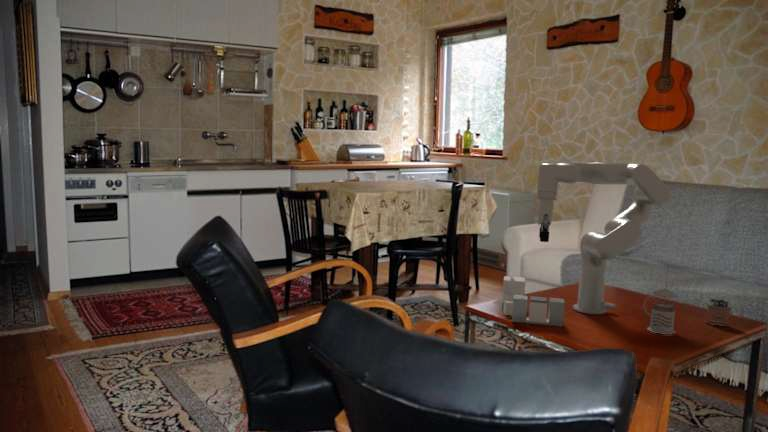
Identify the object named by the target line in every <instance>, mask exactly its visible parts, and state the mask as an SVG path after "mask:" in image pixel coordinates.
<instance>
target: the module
mask: <svg viewBox="0 0 768 432" xmlns="http://www.w3.org/2000/svg"><path fill="white" fill-rule="evenodd" d="M528 308H529V309H528V318H529V321H532V322H542V323H546V319H547V313H548V312H547V311H548V310H547V309H548V298H547V297H544V296H543V297H542V296H534V295H533V296H531V295H530V296H529V307H528Z"/></svg>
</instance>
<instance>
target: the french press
mask: <svg viewBox="0 0 768 432" xmlns="http://www.w3.org/2000/svg"><path fill="white" fill-rule="evenodd" d="M671 266H672V265H671V263H669V262H667V263H665V264H664V267H667V268H666V273H668V271H669V268H670V267H671ZM667 281H668V274H666V276H665V283H668V282H667ZM652 294H653V295H650V296H648V297H646V298H645V300H644V301H643V311H644V313H645V314H646V315H648V317H649V326H648V327H647V328H646V330H647V329H648V330H649V331H651V332H650V333H652V332H654V333H653V334H655V333H661V334H672V333H675V332H676V331H675V329H674V325H675V315H676V310H675V305H674V304H671V303H666V302H665V301H666V298H667V299H675V298H677V297H678V294H676V292H674V291H672V290H670V289H667V285H665V286H664V289H660V288H659V289H657V290H655V291H652ZM654 296H657V297H661V298H663V302H658V301H657V302H653V303H652V305H653V306H652V308H651V313H649V312H648V310H647V309H646V302H647V300H648V299H650V298H651V299H652V301H653V300H654V298H655V297H654ZM648 330H647V331H648ZM649 331H648V332H649Z"/></svg>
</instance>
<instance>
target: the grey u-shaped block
mask: <svg viewBox="0 0 768 432" xmlns="http://www.w3.org/2000/svg"><path fill="white" fill-rule="evenodd" d="M528 298H529V297H528V295H525V294H524V295H514V297H513V312H512V316H511V322H513V323H520V324H521V323H523V324H532V325H541V326H542V325H543V326H552V327H560V328H561V327H563V326H564V319H565V318H564V315H565V299H564V298H557V297H556V298H555V297H549V301H548V303H549V304H548V312H547V313H548V314H547V315H548V317H547V318H546V323H542V322H532V321H529V317H528V316H527V314H528V313H527V312H528V311H527V310H528V302H529V301H528Z"/></svg>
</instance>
